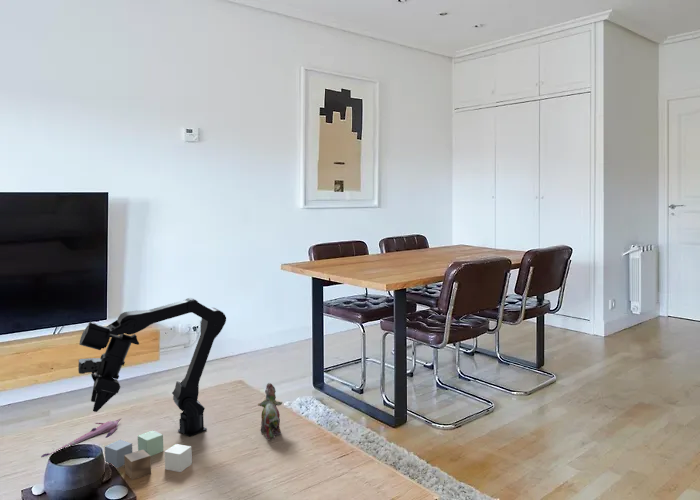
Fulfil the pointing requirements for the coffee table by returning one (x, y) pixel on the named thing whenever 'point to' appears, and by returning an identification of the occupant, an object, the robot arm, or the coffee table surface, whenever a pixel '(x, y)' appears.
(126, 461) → the walnut block
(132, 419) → the coffee table surface
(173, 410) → the coffee table surface
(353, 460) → the coffee table surface
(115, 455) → the slate block
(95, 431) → the toy
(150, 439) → the sage block
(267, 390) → the figurine
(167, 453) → the cream block
